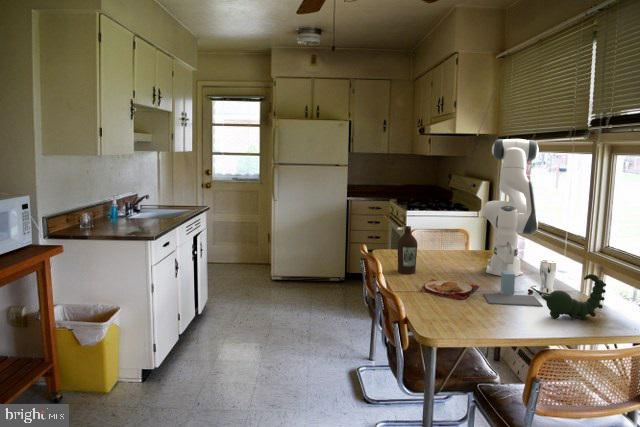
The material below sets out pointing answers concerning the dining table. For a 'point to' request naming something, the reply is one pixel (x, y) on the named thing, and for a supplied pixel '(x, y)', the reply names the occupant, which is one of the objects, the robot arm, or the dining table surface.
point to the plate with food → (449, 288)
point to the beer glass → (547, 275)
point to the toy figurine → (566, 305)
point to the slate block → (507, 283)
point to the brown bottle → (407, 252)
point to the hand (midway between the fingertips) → (504, 269)
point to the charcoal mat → (512, 299)
